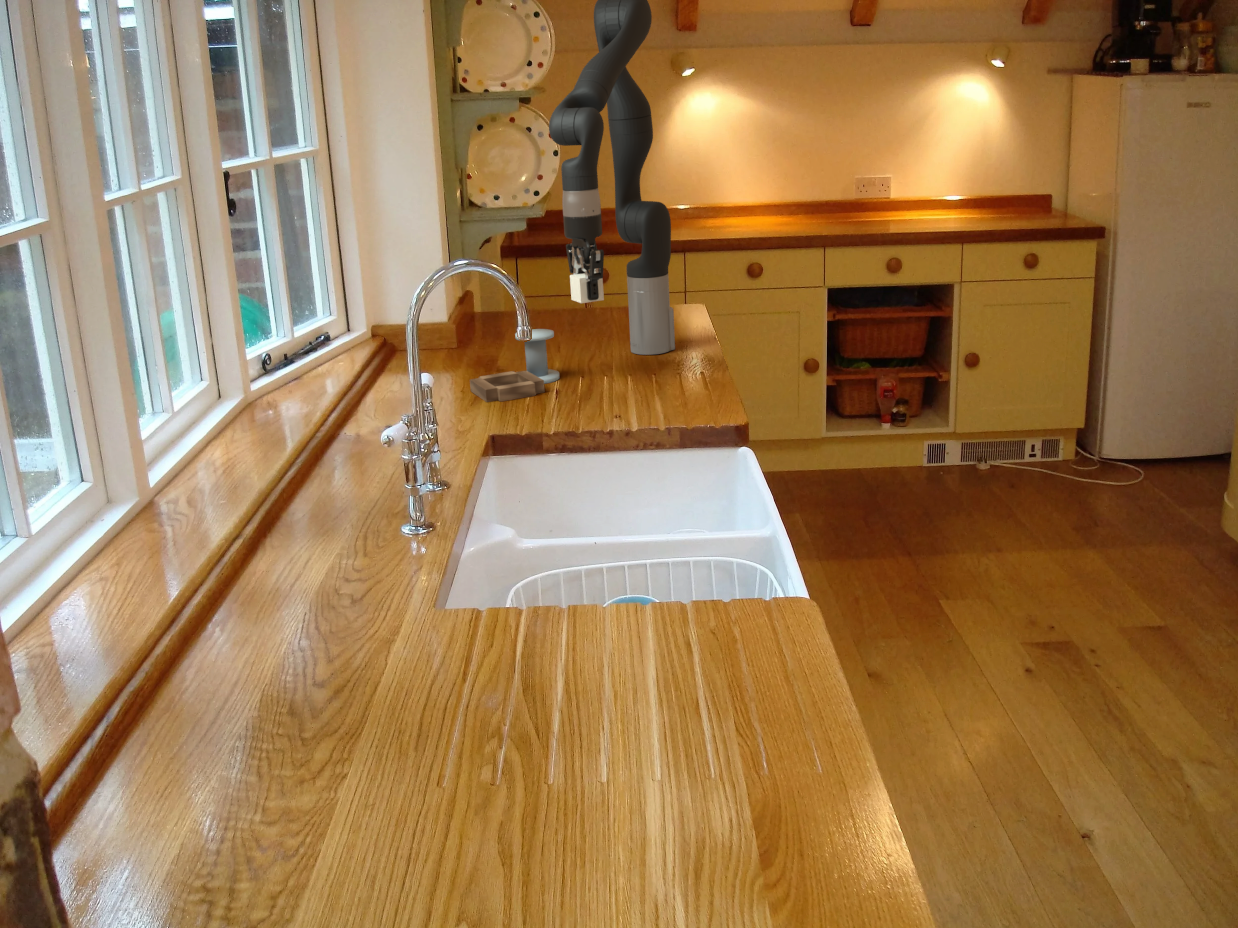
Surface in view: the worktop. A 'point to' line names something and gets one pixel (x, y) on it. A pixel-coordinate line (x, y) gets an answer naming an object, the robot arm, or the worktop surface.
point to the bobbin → (539, 355)
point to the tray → (507, 386)
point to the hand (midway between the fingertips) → (587, 297)
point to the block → (583, 288)
